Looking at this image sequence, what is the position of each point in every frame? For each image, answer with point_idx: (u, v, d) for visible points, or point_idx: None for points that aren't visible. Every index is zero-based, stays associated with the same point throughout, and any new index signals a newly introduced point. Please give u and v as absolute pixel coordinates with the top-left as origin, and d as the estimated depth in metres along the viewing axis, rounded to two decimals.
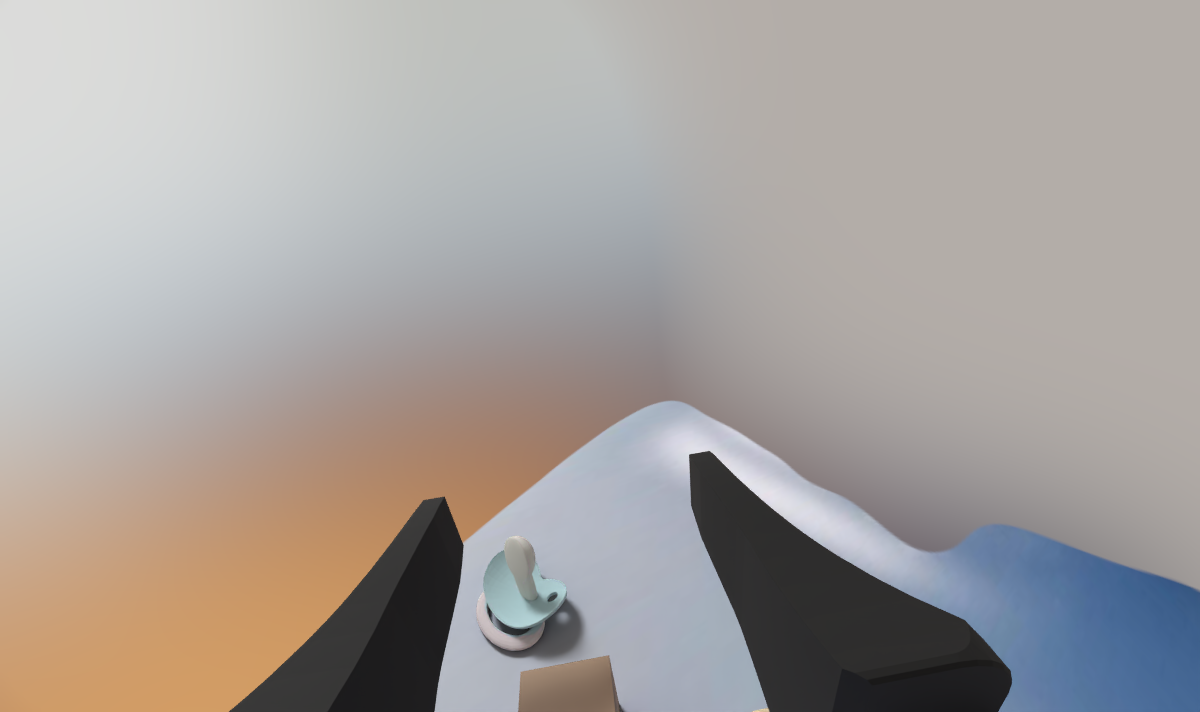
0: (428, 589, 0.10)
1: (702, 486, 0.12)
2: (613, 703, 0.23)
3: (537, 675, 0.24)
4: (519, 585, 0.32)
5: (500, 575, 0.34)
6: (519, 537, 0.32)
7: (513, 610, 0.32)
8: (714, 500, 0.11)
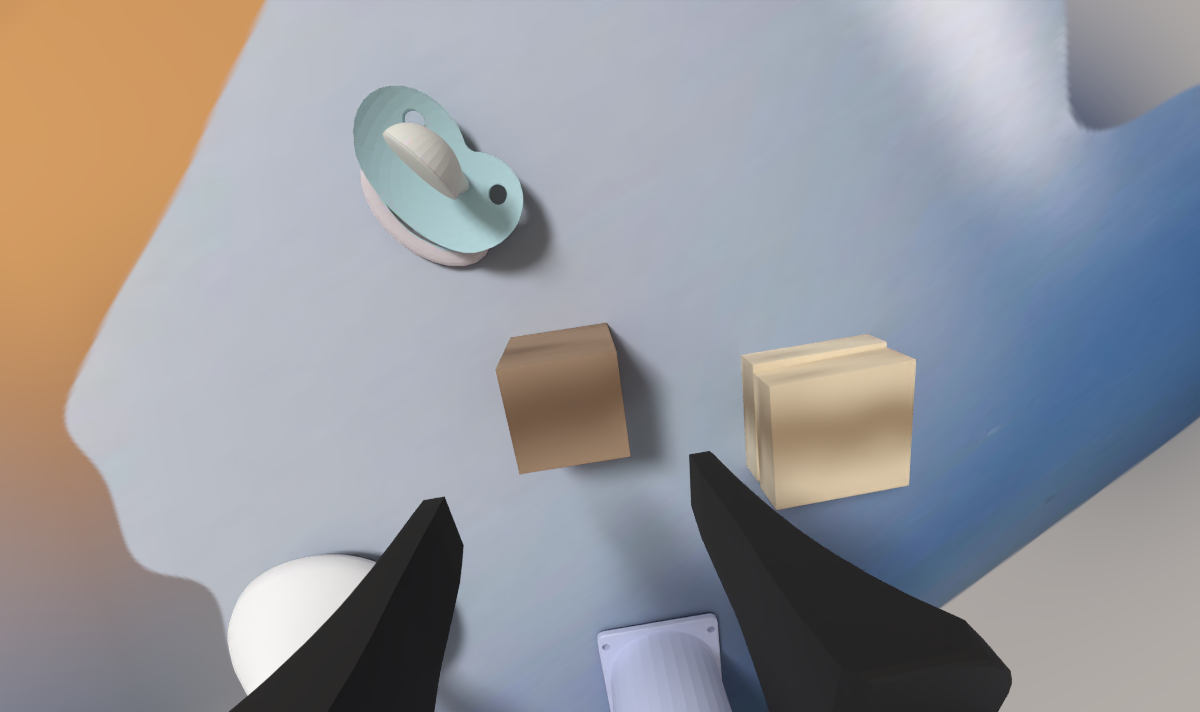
0: (428, 589, 0.10)
1: (702, 486, 0.12)
2: (622, 402, 0.19)
3: (520, 374, 0.18)
4: None
5: (386, 143, 0.18)
6: (416, 140, 0.14)
7: (434, 211, 0.20)
8: (714, 500, 0.11)
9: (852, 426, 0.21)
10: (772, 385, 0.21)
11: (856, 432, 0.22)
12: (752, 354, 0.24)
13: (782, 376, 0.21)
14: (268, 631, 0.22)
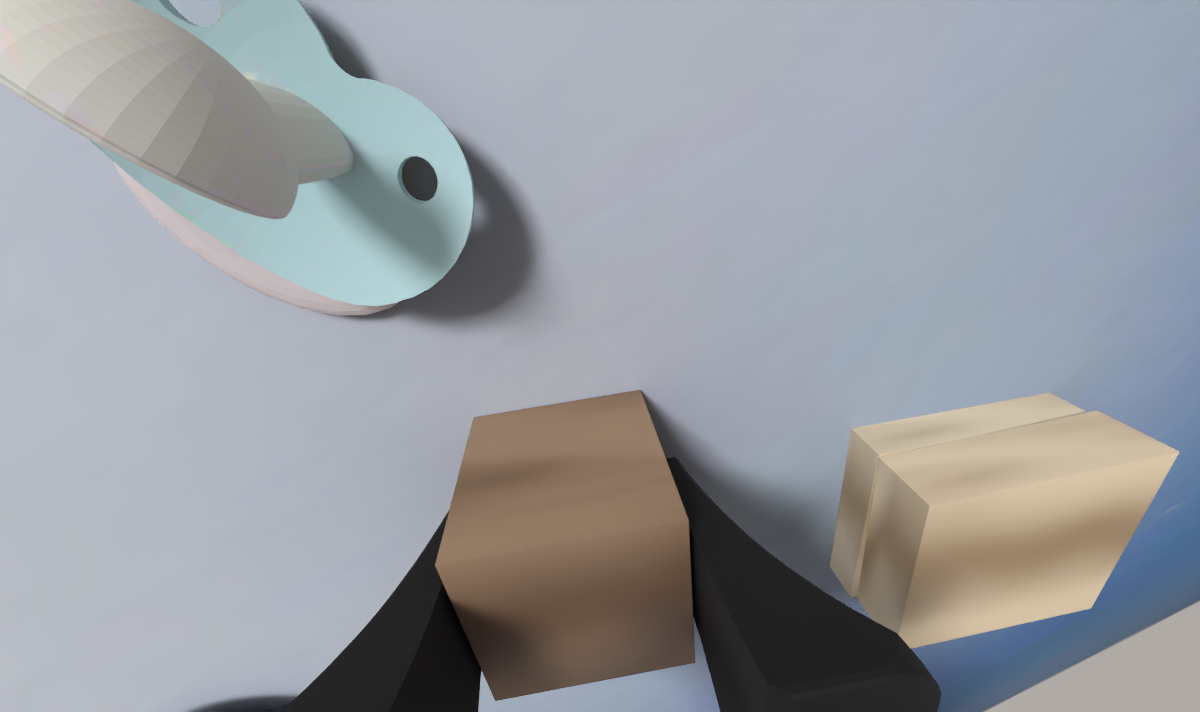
0: None
1: None
2: (689, 594, 0.10)
3: (488, 568, 0.09)
4: None
5: None
6: (37, 42, 0.04)
7: None
8: None
9: (1040, 547, 0.13)
10: (933, 501, 0.12)
11: (1043, 554, 0.13)
12: None
13: (940, 476, 0.12)
14: None
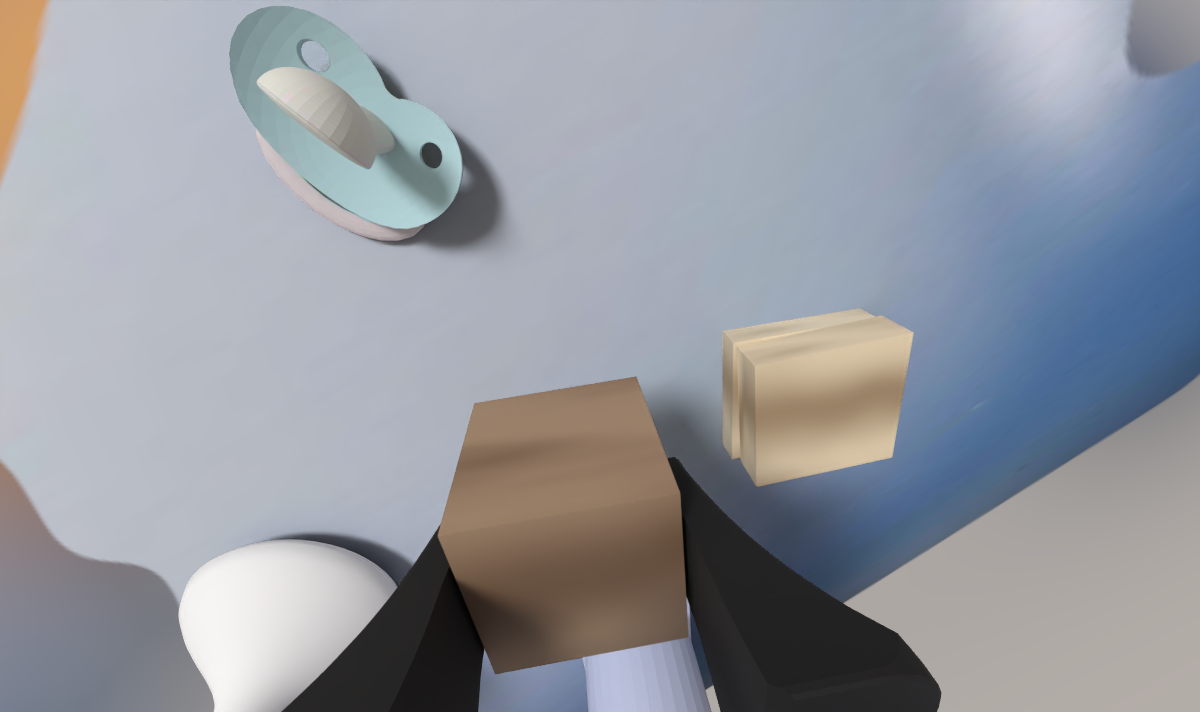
0: None
1: None
2: (682, 567, 0.10)
3: (488, 539, 0.09)
4: None
5: None
6: (300, 95, 0.11)
7: (354, 175, 0.16)
8: None
9: (840, 402, 0.20)
10: (758, 364, 0.19)
11: (843, 409, 0.20)
12: (733, 329, 0.22)
13: (769, 352, 0.19)
14: (219, 622, 0.21)
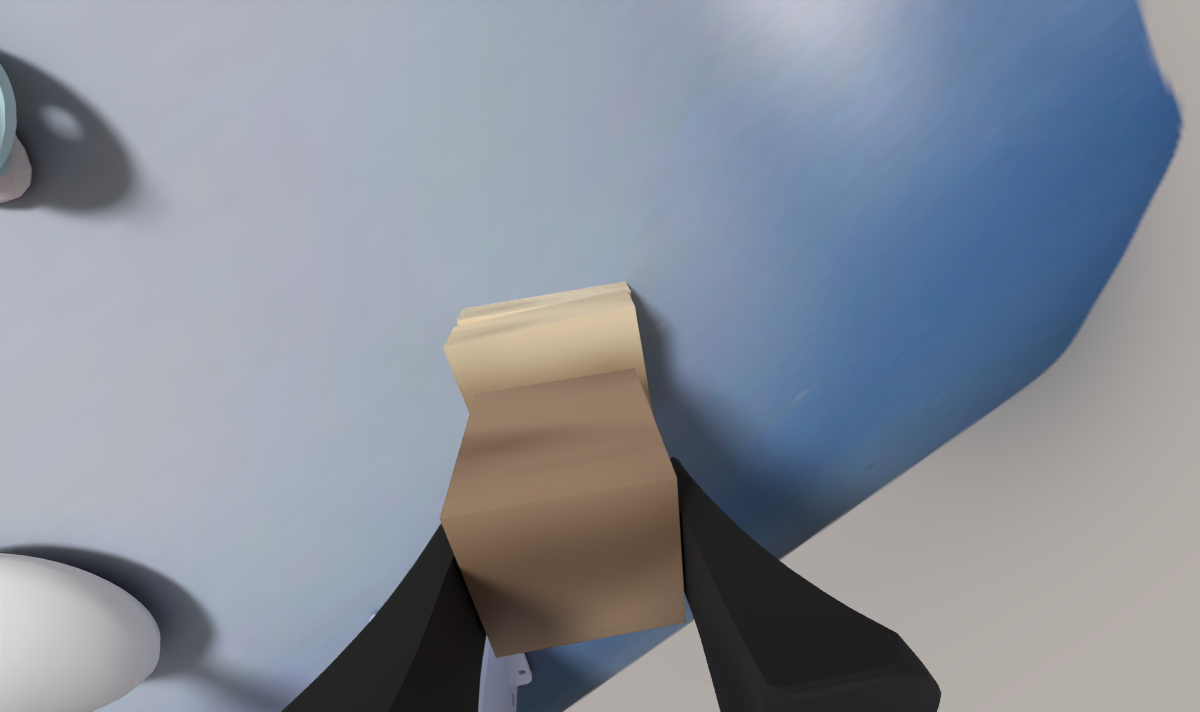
0: None
1: None
2: (679, 552, 0.10)
3: (489, 522, 0.09)
4: None
5: None
6: None
7: None
8: None
9: None
10: (449, 346, 0.16)
11: None
12: None
13: (474, 332, 0.16)
14: None
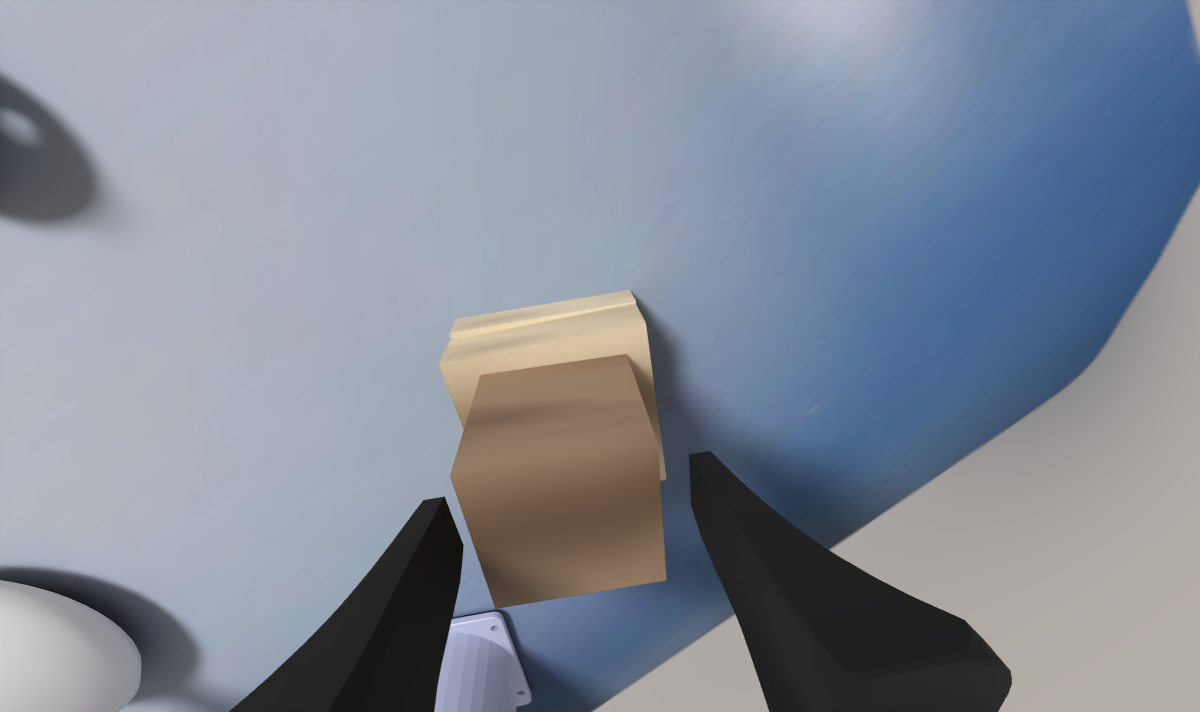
0: (428, 589, 0.10)
1: (702, 486, 0.12)
2: (660, 514, 0.12)
3: (493, 481, 0.11)
4: None
5: None
6: None
7: None
8: (714, 500, 0.11)
9: None
10: (445, 362, 0.15)
11: None
12: None
13: (473, 347, 0.15)
14: None
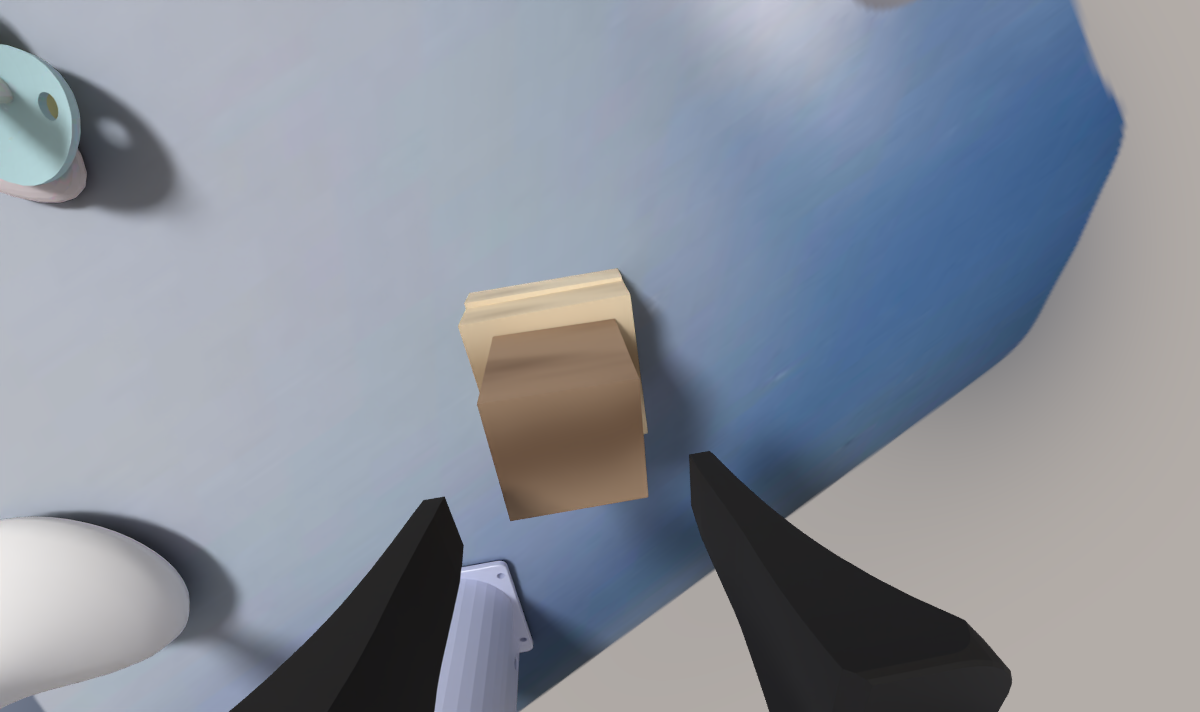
0: (428, 589, 0.10)
1: (702, 486, 0.12)
2: (642, 438, 0.15)
3: (510, 408, 0.13)
4: None
5: None
6: None
7: None
8: (714, 500, 0.11)
9: None
10: (463, 324, 0.18)
11: None
12: (481, 291, 0.20)
13: (485, 313, 0.18)
14: None
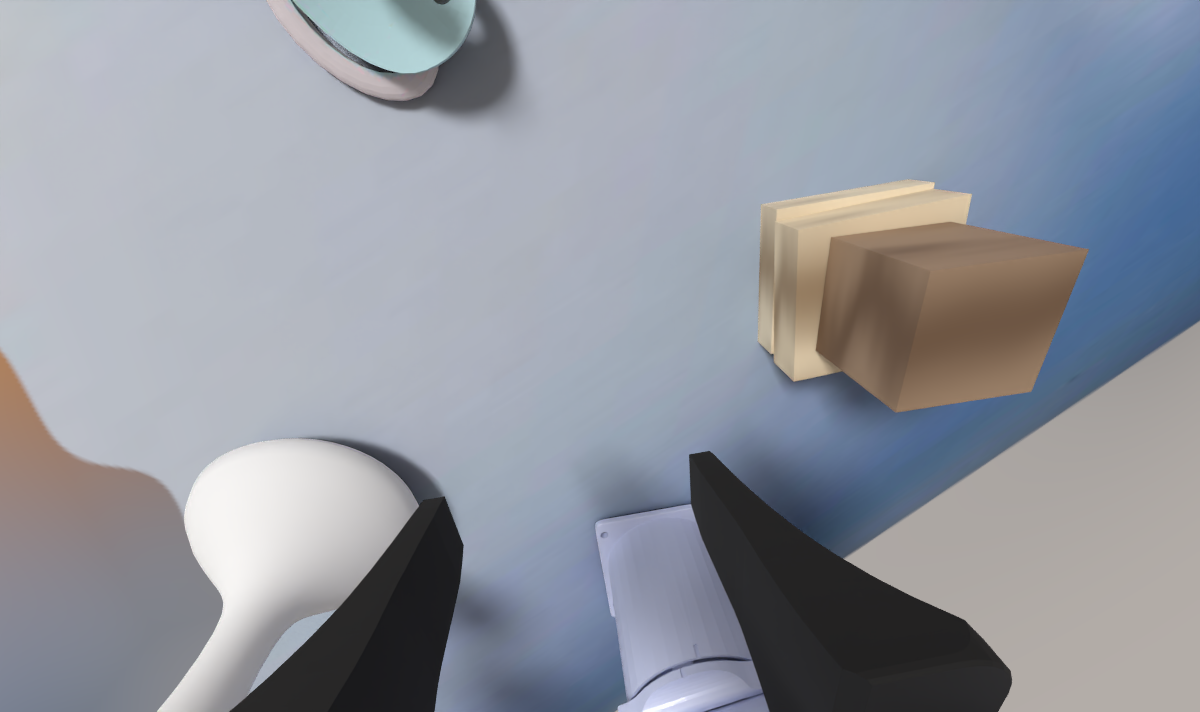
0: (428, 589, 0.10)
1: (702, 486, 0.12)
2: (1056, 321, 0.14)
3: (958, 278, 0.13)
4: None
5: None
6: None
7: (358, 13, 0.15)
8: (714, 500, 0.11)
9: None
10: (801, 228, 0.17)
11: None
12: (774, 202, 0.20)
13: (811, 221, 0.18)
14: (227, 517, 0.20)
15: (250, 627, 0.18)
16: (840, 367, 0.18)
